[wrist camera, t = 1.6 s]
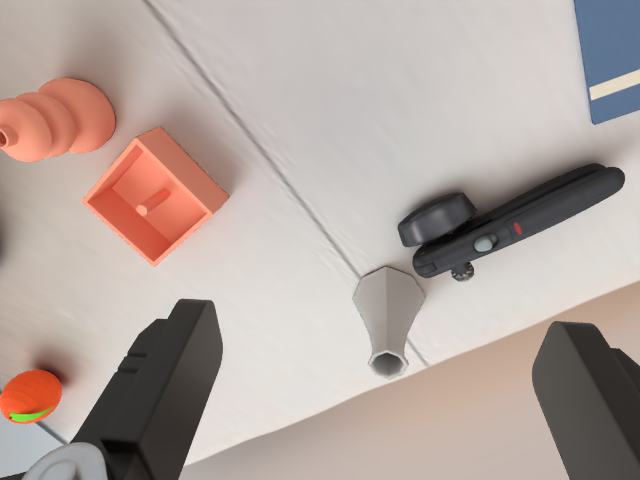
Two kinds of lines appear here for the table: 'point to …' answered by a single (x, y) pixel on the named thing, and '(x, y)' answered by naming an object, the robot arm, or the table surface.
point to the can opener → (499, 220)
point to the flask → (388, 317)
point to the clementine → (30, 396)
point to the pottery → (115, 165)
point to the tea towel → (610, 55)
